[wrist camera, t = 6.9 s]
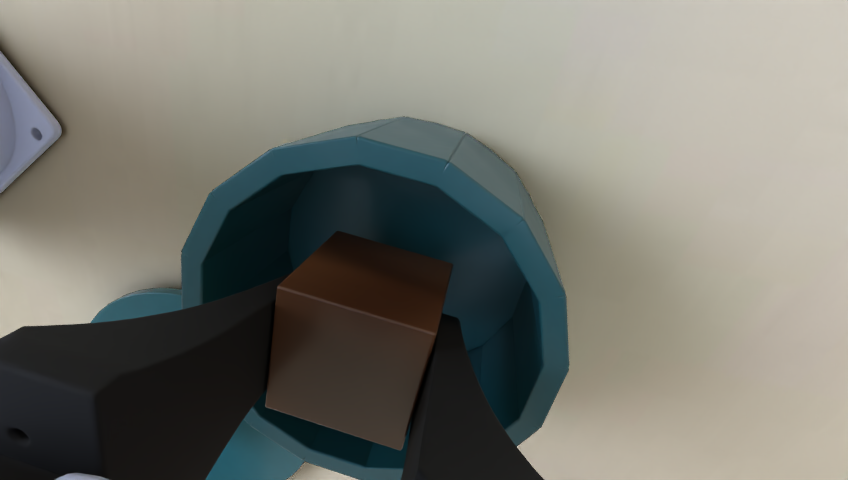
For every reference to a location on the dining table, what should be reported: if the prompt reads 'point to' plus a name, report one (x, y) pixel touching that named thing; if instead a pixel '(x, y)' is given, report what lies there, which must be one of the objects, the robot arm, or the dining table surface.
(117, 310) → the lid
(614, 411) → the dining table surface
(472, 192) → the tin
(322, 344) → the block
